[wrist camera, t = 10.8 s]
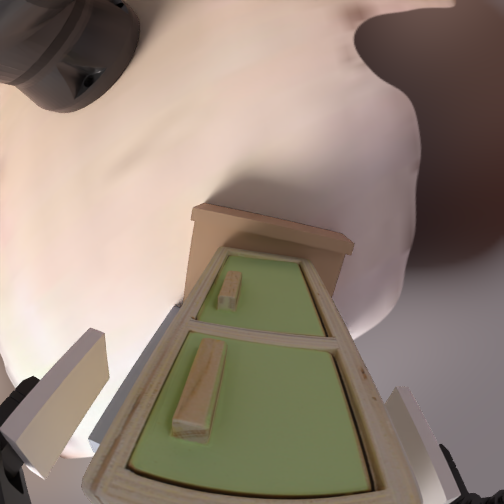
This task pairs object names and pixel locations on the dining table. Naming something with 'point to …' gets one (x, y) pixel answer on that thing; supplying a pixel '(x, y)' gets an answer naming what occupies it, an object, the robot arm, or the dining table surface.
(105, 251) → the dining table surface
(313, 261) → the board
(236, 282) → the toy refrigerator
